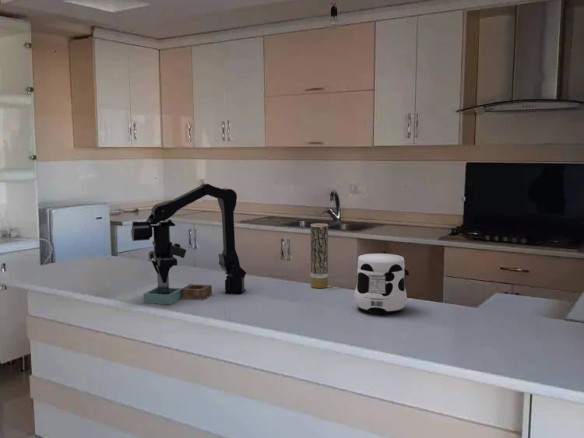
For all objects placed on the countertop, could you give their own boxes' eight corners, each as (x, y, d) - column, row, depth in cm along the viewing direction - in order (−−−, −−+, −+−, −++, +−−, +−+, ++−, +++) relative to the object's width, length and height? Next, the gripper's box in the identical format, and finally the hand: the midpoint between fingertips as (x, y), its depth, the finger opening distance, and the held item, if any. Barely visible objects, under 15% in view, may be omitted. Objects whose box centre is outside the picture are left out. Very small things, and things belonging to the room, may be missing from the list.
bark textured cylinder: (326, 289, 221) (326, 225, 218) (309, 288, 222) (309, 225, 219) (328, 285, 228) (329, 223, 225) (312, 284, 229) (312, 223, 226)
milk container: (389, 301, 202) (389, 251, 200) (416, 313, 186) (417, 259, 184) (345, 306, 196) (346, 254, 194) (370, 319, 180) (370, 263, 178)
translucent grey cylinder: (171, 292, 207) (170, 272, 206) (166, 295, 203) (165, 274, 202) (160, 292, 208) (160, 272, 207) (155, 294, 204) (155, 274, 203)
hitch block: (211, 294, 214) (211, 285, 213) (203, 299, 205) (203, 290, 205) (190, 293, 216) (190, 284, 215) (181, 298, 207) (180, 289, 207)
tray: (182, 297, 209) (182, 288, 209) (170, 304, 199) (170, 295, 199) (156, 295, 212) (156, 287, 211) (143, 302, 202) (143, 293, 201)
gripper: (191, 240, 198) (192, 284, 200) (177, 234, 215) (178, 274, 217) (159, 243, 193) (160, 287, 195) (147, 236, 210) (149, 277, 212)
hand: (163, 281), depth 205 cm, fingers closed on translucent grey cylinder, 4 cm apart
